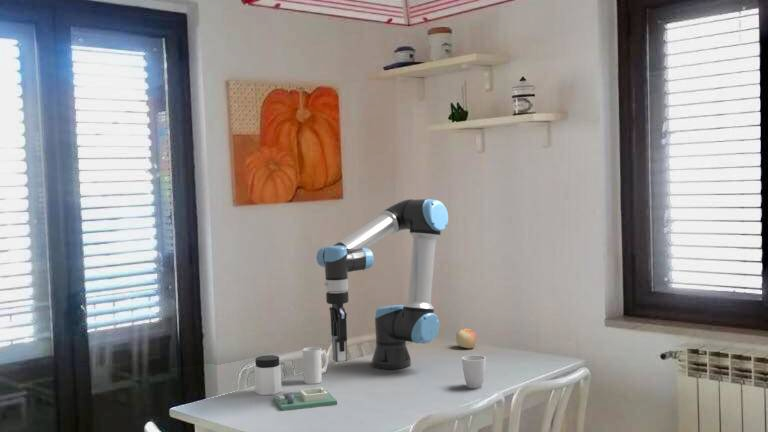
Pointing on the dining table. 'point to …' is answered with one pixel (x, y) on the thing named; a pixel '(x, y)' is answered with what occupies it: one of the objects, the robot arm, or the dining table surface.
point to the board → (305, 399)
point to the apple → (466, 338)
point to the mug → (313, 364)
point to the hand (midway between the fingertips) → (339, 358)
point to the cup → (474, 370)
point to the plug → (334, 348)
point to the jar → (267, 375)
